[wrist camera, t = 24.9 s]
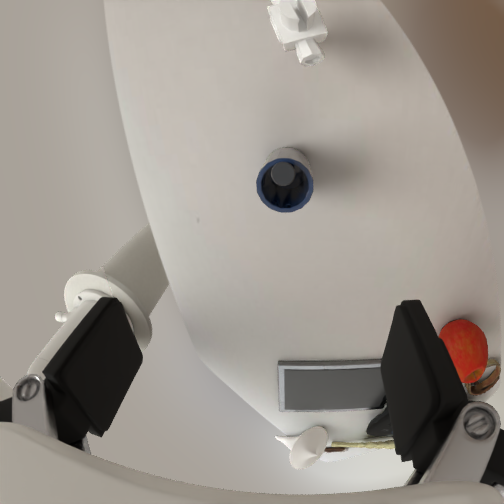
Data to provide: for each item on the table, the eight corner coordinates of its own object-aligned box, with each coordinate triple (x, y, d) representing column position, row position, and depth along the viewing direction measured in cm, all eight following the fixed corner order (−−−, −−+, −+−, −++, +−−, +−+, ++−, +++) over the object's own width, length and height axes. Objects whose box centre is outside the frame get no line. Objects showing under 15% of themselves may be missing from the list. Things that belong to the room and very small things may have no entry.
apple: (479, 326, 37) (504, 373, 27) (441, 355, 40) (459, 404, 31) (464, 300, 35) (494, 350, 25) (422, 332, 38) (442, 386, 29)
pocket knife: (347, 449, 58) (348, 445, 57) (347, 452, 57) (348, 448, 56) (292, 452, 60) (292, 448, 60) (292, 454, 59) (291, 450, 59)
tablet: (279, 407, 51) (279, 412, 50) (278, 360, 44) (277, 365, 43) (382, 404, 48) (383, 409, 47) (401, 357, 41) (402, 362, 40)
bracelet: (492, 393, 40) (487, 384, 42) (509, 362, 37) (503, 353, 39) (460, 399, 41) (457, 389, 44) (477, 366, 38) (472, 357, 41)
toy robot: (292, 78, 26) (290, 61, 16) (266, 16, 23) (248, -29, 13) (328, 68, 25) (348, 47, 15) (302, 6, 22) (304, -44, 12)
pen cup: (266, 191, 32) (258, 213, 26) (263, 147, 30) (254, 159, 24) (310, 190, 32) (313, 212, 25) (309, 146, 29) (312, 157, 23)
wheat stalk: (328, 466, 53) (454, 461, 40) (327, 444, 52) (463, 437, 39) (335, 443, 60) (452, 438, 47) (334, 421, 58) (459, 413, 46)
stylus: (279, 177, 31) (271, 186, 18) (279, 163, 30) (270, 162, 18) (294, 177, 30) (295, 185, 18) (293, 163, 30) (294, 161, 18)
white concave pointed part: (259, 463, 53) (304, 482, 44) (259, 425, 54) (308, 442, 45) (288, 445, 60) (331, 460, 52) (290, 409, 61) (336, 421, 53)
